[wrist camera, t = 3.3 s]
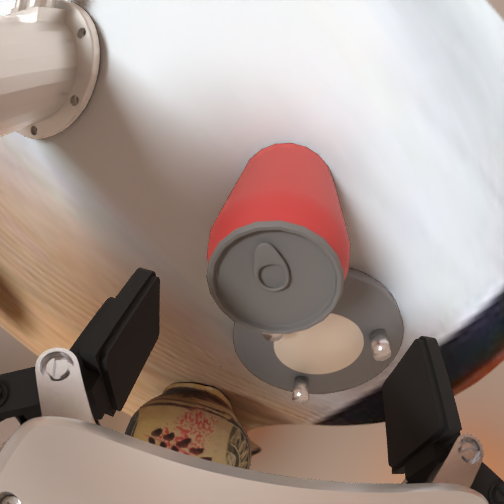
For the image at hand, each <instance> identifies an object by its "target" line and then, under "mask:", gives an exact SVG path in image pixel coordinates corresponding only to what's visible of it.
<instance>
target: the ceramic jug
mask: <svg viewBox="0 0 504 504" xmlns="http://www.w3.org/2000/svg"><path fill="white" fill-rule="evenodd" d="M220 367H222V366H220ZM125 434H126V435H128V436H131V437H134V438H137V439H139V440H142V441H145V442H148V443H151V444H154V445H157V446H160V447H164V448H167V449H170V450H173V451H176V452H180V453H183V454H186V455H190V456H193V457H197V458H201V459H204V460H208V461H212V462H216V463H220V464H225V465H229V466H233V467H238V468H243V469H248V470H249V469H250V466H251V457H252V455H251V445H250V441H249V438H248V435H247V433H246V431H245V429H244V428H243V426H242V425H241V423H240V422H239V421H238V419H237V418H236V417H235V416H234V413H233V410H232V406H231V404H230V402H229V400H228V399H227V398H226V397H225V396H224V395H223V394H222V393H221V392H220V391H219V390H218V389H216V388H213V387H208V386H203V385H199V384H194V383H173V384H171V385H170V386H168V387H167V388H165V390H164V391H163V394H162V395H160V396H158V397H156V398H153V399H151V400H150V401H148V402H147V403H145V404H144V405H143V406H141V407H140V408H139V409H138V410H137V411H136V412H135V414H134V415H133V417H132V418H131V420H130V422H129V425H128V427H127V429H126V432H125Z"/></svg>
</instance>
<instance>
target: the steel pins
mask: <svg viewBox="0 0 504 504" xmlns="http://www.w3.org/2000/svg"><path fill="white" fill-rule="evenodd" d="M262 335H263V337H264V338H265V339H266V340H268V341H278V340H280V339H281V338H282V335H283V334H268V333H264V332H263V333H262ZM370 340H371V346H372V352H373V358H374V359H375V360H377V361H384V360H386V359H388V358H389V357H390V356H391V350H390V345H389V341H388V336H387V332H386V330H384V329H381V328H379V329H375V330H373V331H372V332H371V334H370ZM308 399H309V378H308V377H306V376H297V377H295V378H294V384H293V398H292V400H293V402H295V403H298V404H303V403H306V402H308Z"/></svg>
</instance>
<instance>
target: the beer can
mask: <svg viewBox="0 0 504 504" xmlns="http://www.w3.org/2000/svg"><path fill="white" fill-rule="evenodd" d="M207 260H208V270H207V281H208V285H209V290H210V294H211V295H212V297H213V299H214V300H215V302H216V303H217V305H218V306H219V308H220V309H221V310H222V311H223V312H224V313H225V314H226V315H228V316H229V317H230V318H231V319H232V320H233V321H235V322H237V323H239V324H241V325H243V326H245V327H247V328H249V329H251V330H255V331H260V332H264V333H268V334H290V333H294V332H298V331H302V330H306V329H309V328H311V327H312V326H314V325H316V324H318V323H320V322H322V321H323V320H324V319H325V318H326V317H327V316H328V315H329V314H330V313H331V312H332V311H333V310H334V309H335V308H336V306H337V304H338V302H339V300H340V298H341V296H342V293H343V285H344V280H345V278H346V276H347V273H348V269H349V264H350V241H349V237H348V233H347V229H346V225H345V221H344V217H343V214H342V210H341V206H340V202H339V199H338V195H337V192H336V188H335V184H334V181H333V178H332V175H331V173H330V170H329V167H328V166H327V164H326V163H325V162H324V161H323V160H322V158H321V157H320V156H319V155H318V154H316V153H315V152H313V151H312V150H310V149H308V148H307V147H304V146H301V145H297V144H293V143H283V144H274V145H272V146H269V147H267V148H264V149H262V150H260V151H259V152H258V153H257V154H256V155H254V156H253V157H252V158H251V159H250V160H249V162H248V164H247V165H246V167H245V169H244V171H243V172H242V174H241V176H240V178H239V179H238V181H237V183H236V185H235V186H234V188H233V190H232V192H231V194H230V195H229V197H228V199H227V201H226V203H225V204H224V206H223V208H222V210H221V212H220V213H219V215H218V217H217V219H216V221H215V223H214V224H213V226H212V228H211V230H210V237H209V244H208V252H207Z"/></svg>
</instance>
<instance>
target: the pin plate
mask: <svg viewBox="0 0 504 504" xmlns="http://www.w3.org/2000/svg"><path fill="white" fill-rule="evenodd" d="M379 328H381V329H384V330H386V332H387V336H388V341H389V345H390V350H391V356H390V357H389V358H388V359H386V360H384V361H377V360H375V359H374V358H373V352H372V346H371V340H370V334H371V332H372V331H373V330H375V329H379ZM262 333H263V332H260V331H255V330H251V329H249V328H247V327H245V326H243V325H241V324H239V323H237V322H235V326H234V332H233V342H234V347H235V351H236V353H237V355H238V357H239V359H240V360H241V362H242V363H243V365H244V366H245V367H246V368H247V369H248V370H249V371H250V372H251V373H252V374H254V375H255V376H256V377H258V378H259V379H261V380H262V381H264V382H266V383H268V384H270V385H272V386H275V387H277V388H280V389H283V390H287V391H291V392H293V384H294V378H295V377H297V376H306V377H308V378H309V394H325V393H334V392H339V391H343V390H347V389H350V388H353V387H356V386H358V385H361V384H363V383H365V382H367V381H369V380H370V379H372V378H374V377H375V376H377V375H378V374H379V373H381V372H382V371H383V370H384V369H385V368H386V367H387V366H388V365H389V364H390V363H391V362H392V360H393V359H394V358H395V356H396V354H397V353H398V351H399V348H400V346H401V343H402V338H403V323H402V319H401V316H400V312H399V309H398V306H397V303H396V301H395V299H394V298H393V296H392V294H391V293H390V292H389V291H388V290H387V288H386V287H384V286H383V285H382V284H381V283H380V282H379V281H377V280H376V279H374V278H372V277H371V276H369V275H367V274H365V273H362V272H360V271H357V270H354V269H351V268H349V269H348V273H347V276H346V278H345V280H344V285H343V293H342V296H341V298H340V300H339V302H338V304H337V306H336V308H335V309H334V310H333V311H332V312H331V313H330V314H329V315H328V316H327V317H326V318H325V319H324V320H323V321H322V322H320V323H318V324H316V325H314V326H312V327H311V328H309V329H306V330H302V331H298V332H294V333H290V334H283V335H282V338H281V339H280V340H278V341H268V340H266V339H265V338H264V337H263V335H262Z"/></svg>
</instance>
